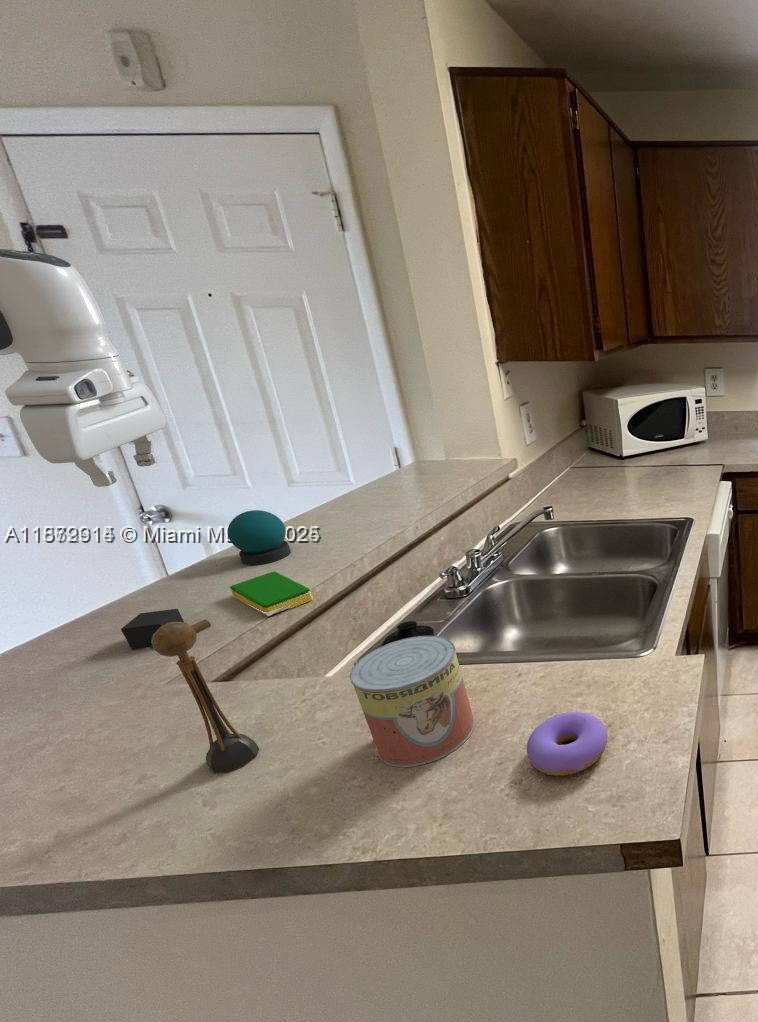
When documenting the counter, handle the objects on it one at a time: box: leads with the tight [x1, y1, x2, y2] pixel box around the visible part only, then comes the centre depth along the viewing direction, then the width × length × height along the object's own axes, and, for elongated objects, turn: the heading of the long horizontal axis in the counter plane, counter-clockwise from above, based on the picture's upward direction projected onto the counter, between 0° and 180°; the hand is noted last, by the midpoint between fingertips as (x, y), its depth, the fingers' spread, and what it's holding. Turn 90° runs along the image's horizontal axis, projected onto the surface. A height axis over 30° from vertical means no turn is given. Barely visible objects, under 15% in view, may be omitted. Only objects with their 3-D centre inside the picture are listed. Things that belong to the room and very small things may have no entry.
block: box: [120, 608, 185, 651], centre depth 100 cm, size 5×5×4 cm
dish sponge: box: [229, 571, 314, 612], centre depth 112 cm, size 7×14×2 cm, turn 60°
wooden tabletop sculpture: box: [151, 619, 260, 774], centre depth 73 cm, size 6×5×20 cm
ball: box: [227, 509, 292, 566], centre depth 126 cm, size 9×9×10 cm
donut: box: [526, 711, 608, 776], centre depth 77 cm, size 10×9×5 cm
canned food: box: [349, 635, 476, 768], centre depth 78 cm, size 11×11×12 cm
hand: (128, 474), depth 90 cm, fingers open, 8 cm apart
